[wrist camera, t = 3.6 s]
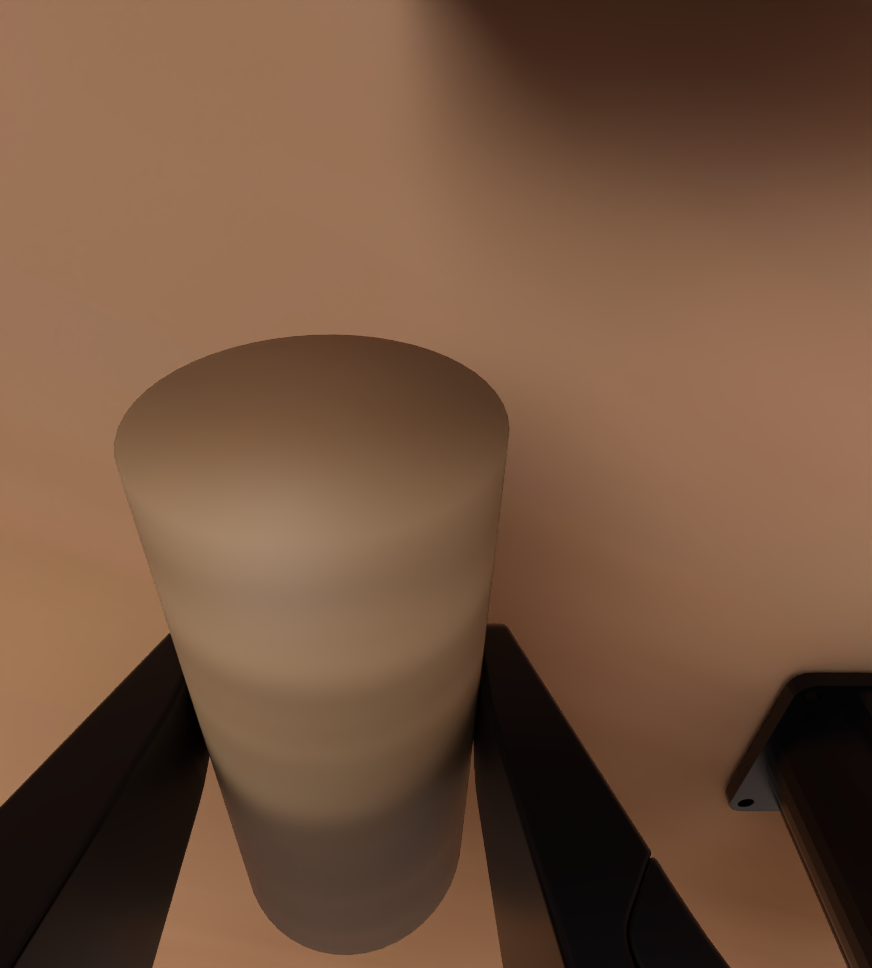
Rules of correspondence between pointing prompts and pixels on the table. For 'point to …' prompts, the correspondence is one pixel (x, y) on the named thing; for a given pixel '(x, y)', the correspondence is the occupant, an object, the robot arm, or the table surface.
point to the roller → (328, 609)
